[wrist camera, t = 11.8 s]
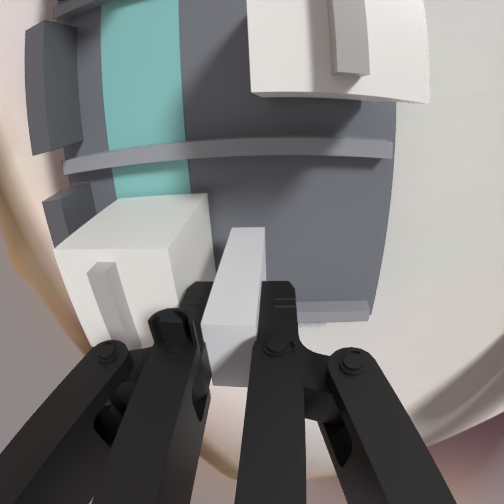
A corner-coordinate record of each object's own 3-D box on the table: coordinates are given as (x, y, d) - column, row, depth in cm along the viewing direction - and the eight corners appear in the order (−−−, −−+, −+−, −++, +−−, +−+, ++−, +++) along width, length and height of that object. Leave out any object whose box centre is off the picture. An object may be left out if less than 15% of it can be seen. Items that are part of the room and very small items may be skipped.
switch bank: (351, -116, 6) (365, -153, 2) (364, 296, 20) (382, 347, 15) (88, -81, 8) (52, -103, 3) (116, 292, 21) (86, 335, 17)
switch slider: (207, 193, 15) (159, 261, 9) (216, 279, 17) (187, 373, 11) (118, 198, 15) (41, 259, 9) (136, 277, 17) (84, 357, 11)
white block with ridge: (365, 5, 10) (425, -51, 4) (370, 101, 12) (443, 105, 6) (257, 0, 10) (239, -72, 4) (262, 97, 12) (248, 91, 6)
